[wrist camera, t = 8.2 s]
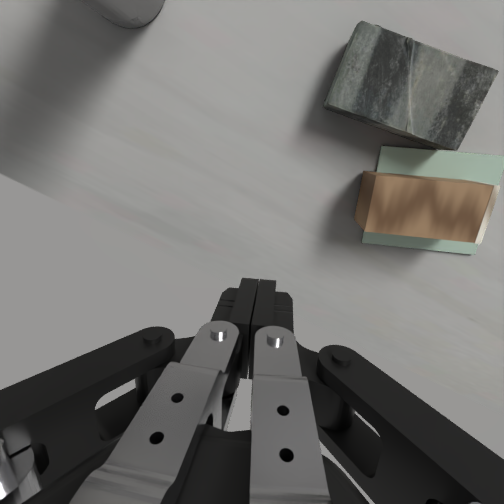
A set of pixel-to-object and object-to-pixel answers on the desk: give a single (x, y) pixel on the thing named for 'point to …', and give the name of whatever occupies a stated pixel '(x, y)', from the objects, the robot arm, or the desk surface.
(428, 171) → the sage mat
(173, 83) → the desk surface
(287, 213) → the desk surface
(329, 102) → the stone block
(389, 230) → the walnut block
